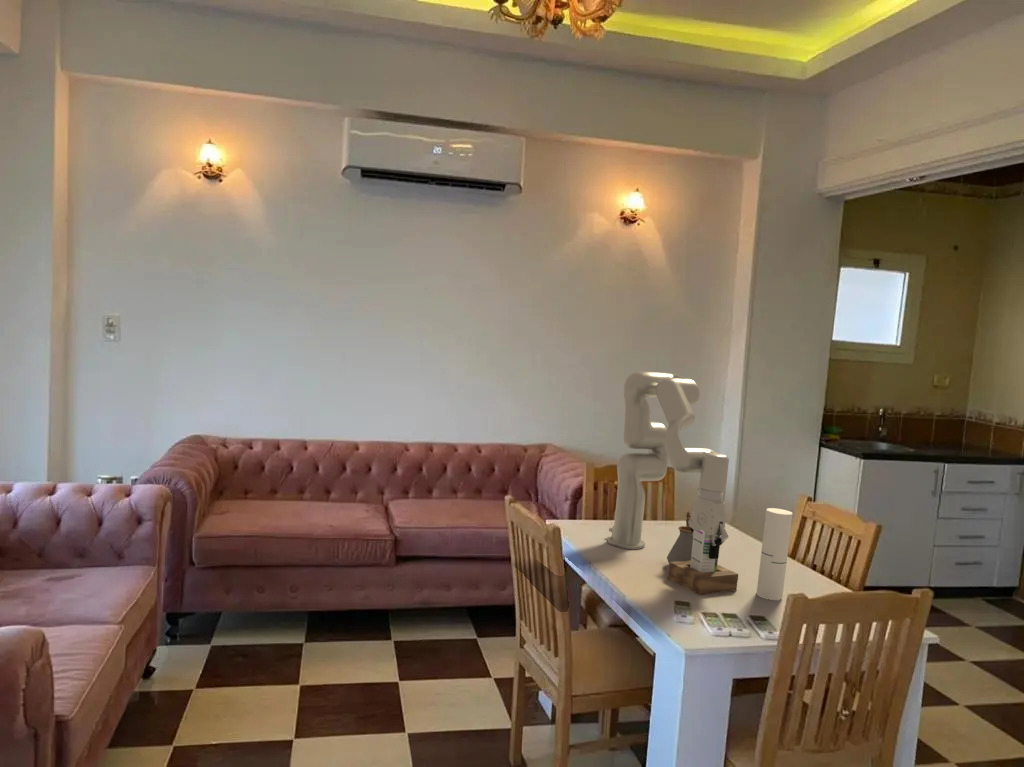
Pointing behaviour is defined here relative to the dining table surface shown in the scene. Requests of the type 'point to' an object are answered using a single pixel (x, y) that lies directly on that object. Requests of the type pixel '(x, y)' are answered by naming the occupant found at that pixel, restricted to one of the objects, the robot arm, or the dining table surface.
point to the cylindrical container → (774, 553)
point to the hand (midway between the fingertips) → (704, 554)
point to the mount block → (702, 578)
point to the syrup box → (702, 553)
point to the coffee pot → (682, 544)
